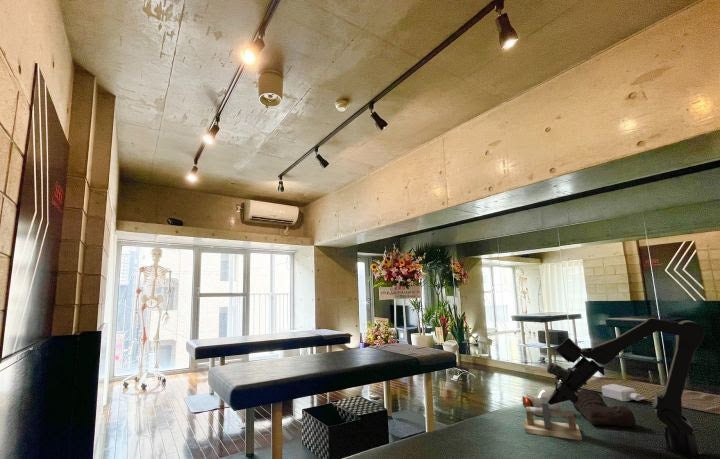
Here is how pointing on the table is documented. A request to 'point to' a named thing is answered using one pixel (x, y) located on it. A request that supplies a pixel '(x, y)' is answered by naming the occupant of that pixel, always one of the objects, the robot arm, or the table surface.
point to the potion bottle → (537, 401)
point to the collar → (546, 412)
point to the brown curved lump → (603, 410)
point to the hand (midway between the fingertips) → (549, 403)
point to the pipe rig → (552, 424)
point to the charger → (621, 393)
